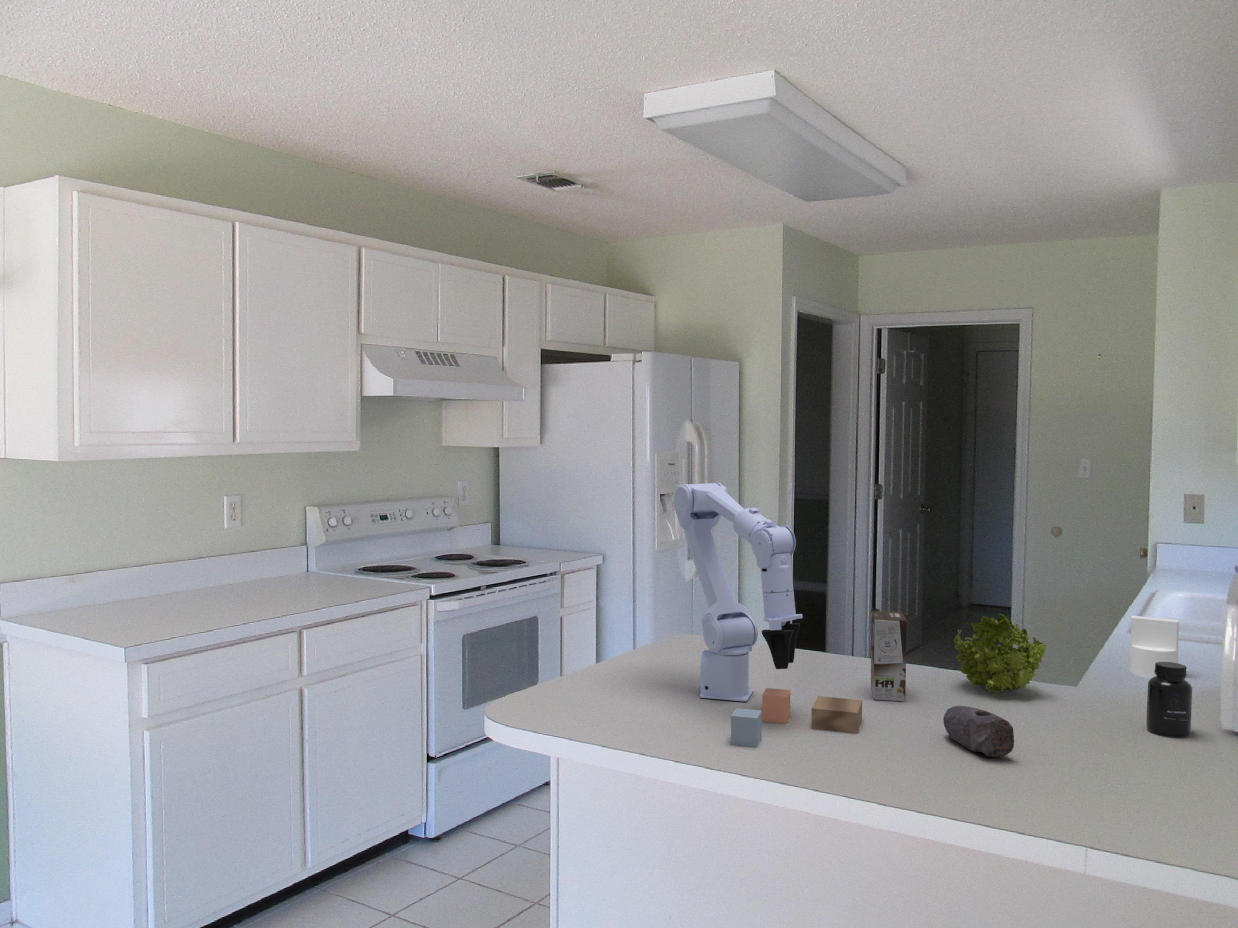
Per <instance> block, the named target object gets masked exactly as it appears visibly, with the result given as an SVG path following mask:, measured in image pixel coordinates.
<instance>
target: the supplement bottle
mask: <svg viewBox="0 0 1238 928" xmlns="http://www.w3.org/2000/svg"><path fill="white" fill-rule="evenodd" d="M1154 673H1155V674H1156V676H1155V677H1152V678H1149V680H1148V682H1147V695H1146V696H1147V697H1146V698H1147V699H1146V716H1145V717H1146V719H1145V720H1146V721H1145V722H1146V723H1145V724H1146V729H1147V730H1148V731H1149V732H1151V733H1153V734H1156V735H1159V736H1163V737H1168V738H1186V737H1188V736H1190V734H1191V729H1192V728H1191V727H1192V710H1193V709H1192V705H1193V687H1192V685H1191V683H1190V682H1189V681H1187V680H1186V678H1187V677H1188V676H1187V665H1184V664H1182V663H1179V662H1178V663H1173V662H1156V663H1155V670H1154Z"/></svg>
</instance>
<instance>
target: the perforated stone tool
mask: <svg viewBox="0 0 1238 928" xmlns="http://www.w3.org/2000/svg"><path fill="white" fill-rule="evenodd" d="M942 721H943V726H944V728H945V731H946V733H947V734H948V736H949V737H951V739H952V740H954V741H955V742H958V743H960V745H961V746H963V747H964V748H966V749H968V750H970V751H971V752H974V753H978V752H980V753H983V754H984V755H985V756H986V757H990V758H996V757H1006V756H1008V755H1009V754H1010V753H1011V752H1012V751H1013V749H1014V747H1015V733H1014V727H1013V725H1012V724H1011V723H1010V722H1009V721H1008V720H1007V719H1004V718H1003V717H1000V716H998V715H997V714H995V713H992V712H990V711H987V710H985V709H980V708H977V707H972V706H968V705H967V706H966V705H965V706H964V705H954V706H951V707H950V708H949V707H948V709H946V711H945V713H944V716H943V720H942Z"/></svg>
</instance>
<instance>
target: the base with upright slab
mask: <svg viewBox="0 0 1238 928" xmlns="http://www.w3.org/2000/svg"><path fill="white" fill-rule="evenodd" d="M1179 629H1180V621H1179V619H1173V618H1164V617H1163V618H1162V617H1155V616H1154V617H1153V616H1143V615H1142V616H1140V615H1131V616H1130V645H1129V646H1130V653H1129V654H1130V656H1129V657H1130V658H1129V673H1131V674H1132V675H1134V676H1136V677H1137V676H1138V677H1142V678H1146V679H1151V678H1152V677H1155V676H1156V674H1155V673H1154V670H1155V663H1156V662H1173V663H1178V664H1179V639H1180V638H1179V637H1180V636H1179V635H1180V634H1179V631H1180V630H1179Z"/></svg>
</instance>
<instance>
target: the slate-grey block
mask: <svg viewBox="0 0 1238 928" xmlns="http://www.w3.org/2000/svg"><path fill="white" fill-rule="evenodd" d="M762 722H763V721H762V709H761V710H760V709H749V708H739V707H736V708H735V709H734V710H733V712H732V714H731V715H730V745H732V746H733V745H734V746H743V747H751V746H755V747H754V748H758V747H759V744H760V742H761V741H762V740H763V739H762V738H763V735H762V734H763V733H762V732H763V727H762V726H763V723H762ZM757 746H758V747H757Z"/></svg>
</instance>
